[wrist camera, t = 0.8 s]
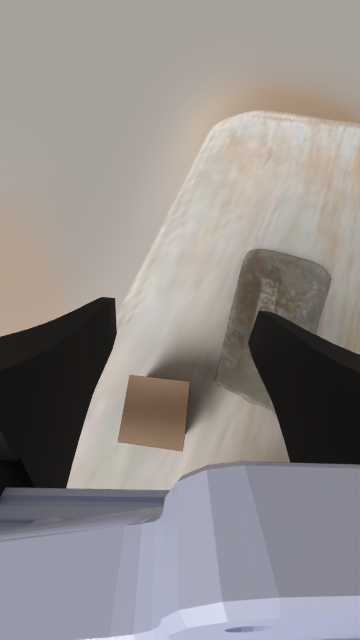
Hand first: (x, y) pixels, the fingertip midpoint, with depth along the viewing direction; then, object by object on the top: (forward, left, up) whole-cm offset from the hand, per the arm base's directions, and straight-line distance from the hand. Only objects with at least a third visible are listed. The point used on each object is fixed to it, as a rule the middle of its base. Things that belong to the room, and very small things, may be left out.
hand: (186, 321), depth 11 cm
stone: (+5, -9, -14) cm, 17 cm away
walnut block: (-5, +2, -14) cm, 15 cm away
